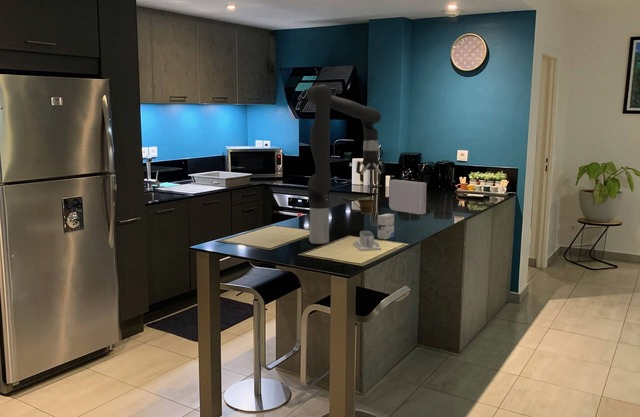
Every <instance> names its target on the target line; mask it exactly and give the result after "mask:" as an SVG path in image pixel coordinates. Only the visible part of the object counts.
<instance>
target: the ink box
mask: <svg viewBox="0 0 640 417" xmlns="http://www.w3.org/2000/svg"><path fill="white" fill-rule="evenodd" d="M394 237H395V214H394V213H384V214H380V215H379V214H378V215H377V239H381V240H388V239H391V238H394Z"/></svg>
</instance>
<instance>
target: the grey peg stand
mask: <svg viewBox="0 0 640 417" xmlns="http://www.w3.org/2000/svg"><path fill="white" fill-rule="evenodd" d="M352 244H353V246H354V247H355V248H356V249H357V250H358V251H364V252H365V251H382V247H381V246H380V243H378V241H377V240H375V239H374V247H372V237H369V247H364V246H362V244H361V243H360V241H359V240H357V239H355V240H354V241H353V243H352Z"/></svg>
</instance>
